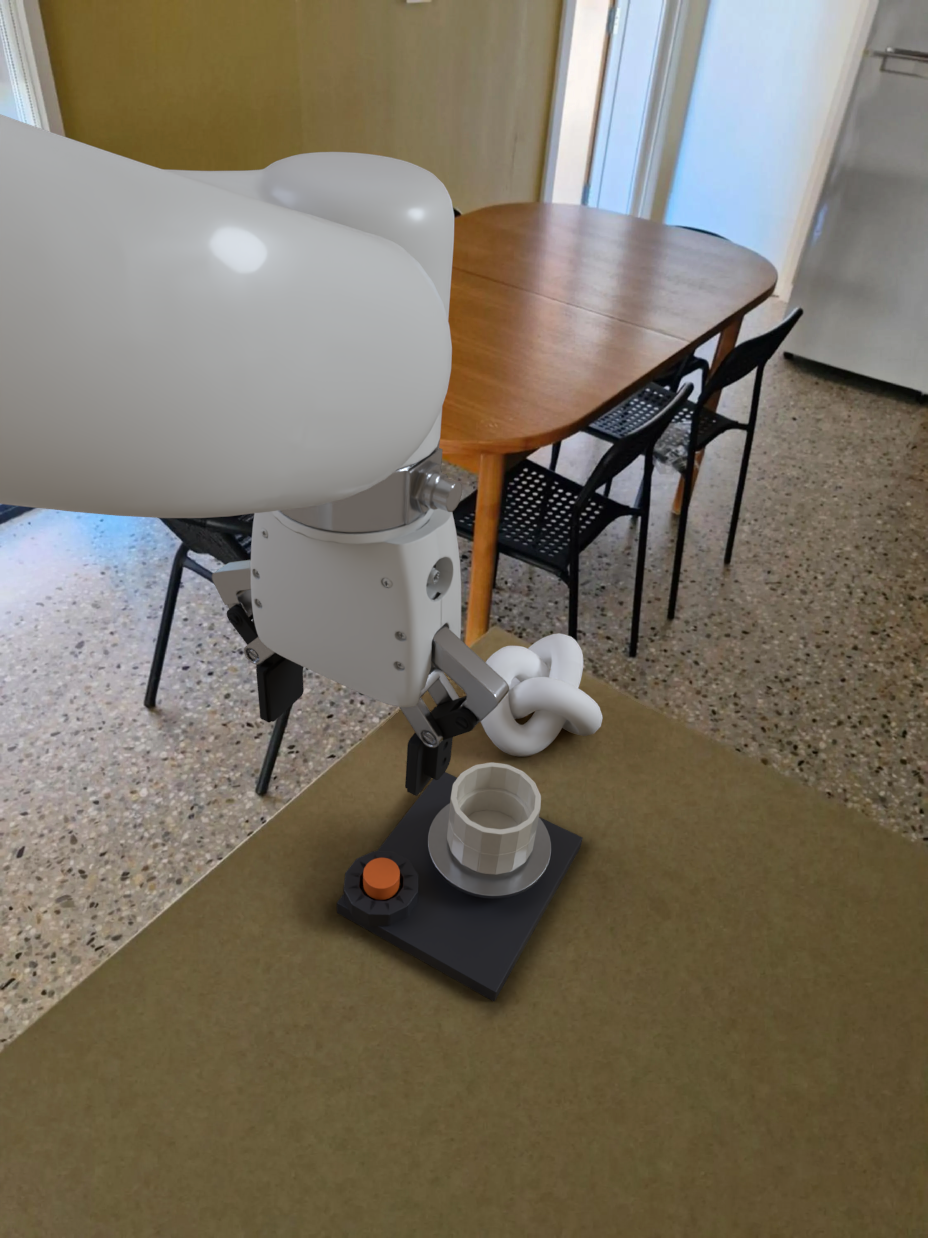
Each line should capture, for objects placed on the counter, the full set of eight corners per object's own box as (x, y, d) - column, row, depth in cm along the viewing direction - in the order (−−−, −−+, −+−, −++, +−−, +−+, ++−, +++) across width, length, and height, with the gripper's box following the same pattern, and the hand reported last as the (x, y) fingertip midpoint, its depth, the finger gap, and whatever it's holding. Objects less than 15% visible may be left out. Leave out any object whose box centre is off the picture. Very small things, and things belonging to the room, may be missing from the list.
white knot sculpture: (507, 792, 80) (517, 723, 74) (447, 706, 88) (452, 637, 82) (609, 754, 85) (627, 685, 79) (543, 675, 93) (555, 608, 87)
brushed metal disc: (516, 920, 67) (517, 917, 67) (404, 861, 70) (404, 858, 70) (570, 828, 74) (570, 825, 74) (465, 778, 77) (465, 775, 77)
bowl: (508, 892, 68) (516, 848, 65) (431, 853, 70) (434, 808, 67) (546, 830, 73) (555, 786, 69) (472, 795, 75) (478, 750, 72)
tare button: (386, 906, 67) (386, 894, 66) (356, 889, 68) (355, 877, 67) (406, 879, 69) (406, 867, 68) (376, 863, 70) (376, 851, 69)
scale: (492, 1006, 65) (495, 985, 63) (330, 914, 69) (329, 892, 68) (580, 847, 76) (585, 825, 74) (436, 778, 81) (438, 755, 79)
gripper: (564, 496, 39) (518, 763, 49) (253, 390, 45) (271, 648, 55) (484, 578, 34) (451, 857, 44) (143, 445, 39) (186, 719, 50)
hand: (351, 741), depth 50 cm, fingers open, 9 cm apart
